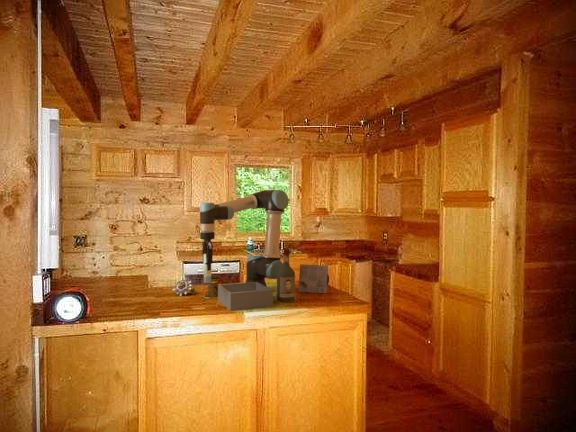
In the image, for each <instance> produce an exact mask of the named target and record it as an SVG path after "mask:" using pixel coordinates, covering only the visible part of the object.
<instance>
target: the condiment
mask: <svg viewBox="0 0 576 432" xmlns="http://www.w3.org/2000/svg"><path fill="white" fill-rule="evenodd" d="M218 285H219V281H218V276H217V275H211V283H207V294H206V295H202V297H203V298H205V299H213V298H218Z"/></svg>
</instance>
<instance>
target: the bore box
mask: <svg viewBox="0 0 576 432" xmlns="http://www.w3.org/2000/svg"><path fill="white" fill-rule="evenodd" d="M217 301H218V302H219V303H220V304H221V305H223V306H224V307H225V308H227V310H229V311H231V312H232V311H241V310H249V309H259V308H268V307H274V306H273V305H274V290H273V289H272V288H270V287H268V286H267V287H266V286H264V285H262V284H260V283H258V282H249V283H246V282H241V283H239V282H238V283H227V284H226V283H225V284H218V297H217Z"/></svg>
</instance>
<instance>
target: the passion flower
mask: <svg viewBox="0 0 576 432" xmlns="http://www.w3.org/2000/svg"><path fill="white" fill-rule="evenodd" d="M191 283H192V280H188V281H187V279H186V278H184V277H183V279H181V280H178V281H176V283H175V286H174V288H172V289H171V291H172V292H175V291H176V295H177V296H178V295H179V297H182V296H183V295H187V294H188V291H190V293H191V295H193V296H194V295H195V293H196V290H195V286H194V283H192V284H191Z"/></svg>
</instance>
